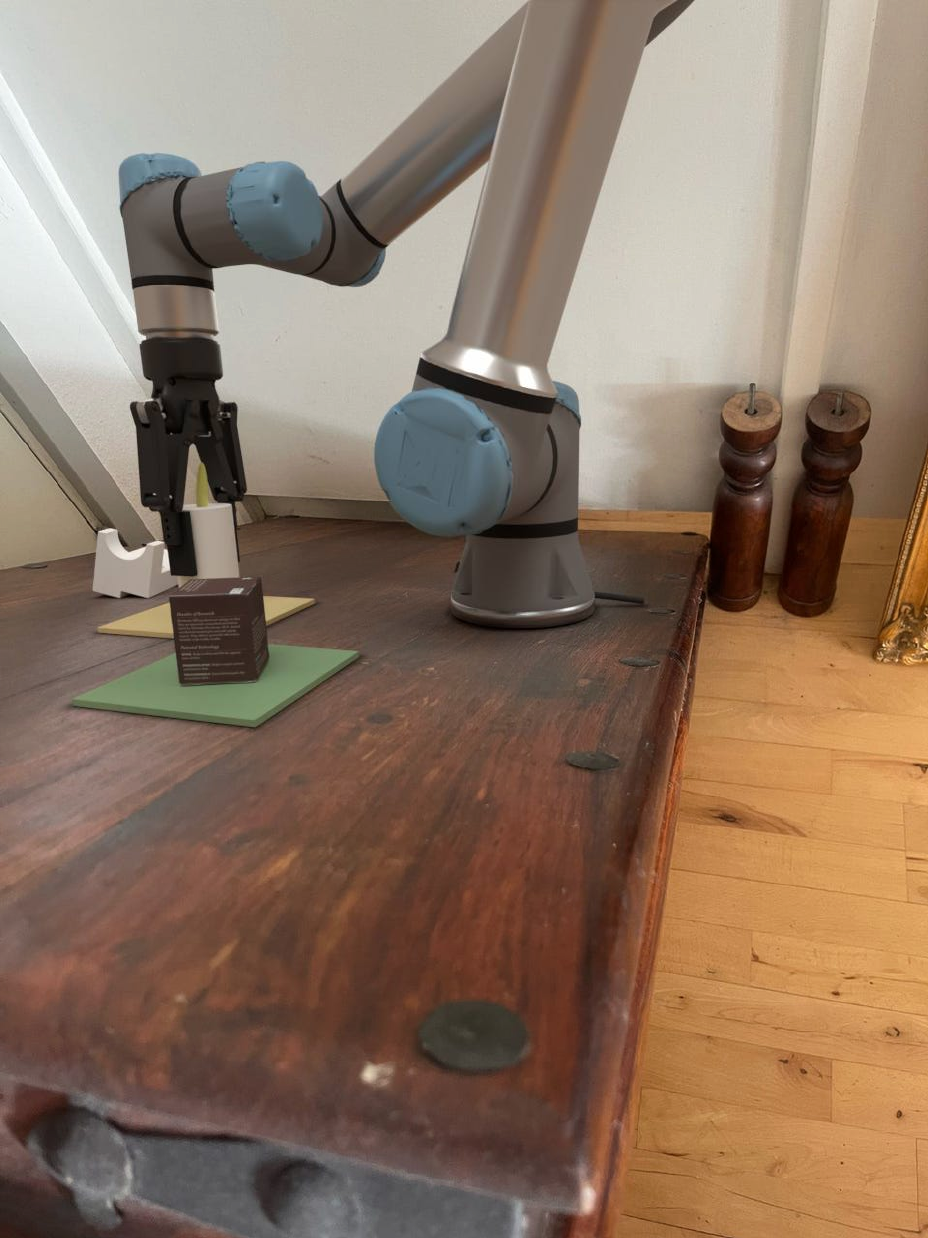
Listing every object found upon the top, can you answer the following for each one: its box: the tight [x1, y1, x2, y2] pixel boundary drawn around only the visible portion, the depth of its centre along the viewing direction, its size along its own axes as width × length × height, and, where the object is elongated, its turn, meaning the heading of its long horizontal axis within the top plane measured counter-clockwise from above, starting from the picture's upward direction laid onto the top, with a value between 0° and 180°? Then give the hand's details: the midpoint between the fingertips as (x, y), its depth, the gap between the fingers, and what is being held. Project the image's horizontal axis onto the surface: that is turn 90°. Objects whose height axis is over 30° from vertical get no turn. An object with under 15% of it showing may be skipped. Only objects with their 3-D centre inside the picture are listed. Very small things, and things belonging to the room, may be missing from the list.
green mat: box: [71, 643, 360, 728], centre depth 61 cm, size 16×16×1 cm
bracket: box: [92, 528, 178, 599], centre depth 96 cm, size 13×7×8 cm, turn 174°
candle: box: [177, 461, 240, 588], centre depth 78 cm, size 6×6×15 cm
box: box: [168, 575, 269, 686], centre depth 60 cm, size 6×6×7 cm
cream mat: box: [97, 595, 316, 640], centre depth 81 cm, size 16×16×1 cm
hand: (206, 568), depth 79 cm, fingers closed on candle, 7 cm apart
